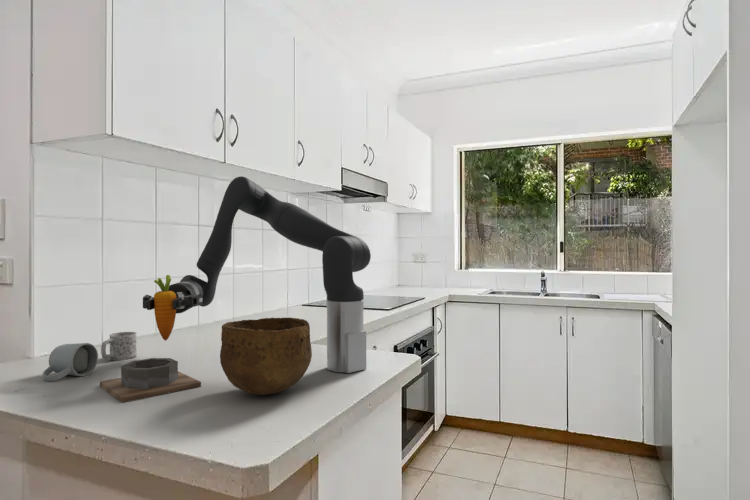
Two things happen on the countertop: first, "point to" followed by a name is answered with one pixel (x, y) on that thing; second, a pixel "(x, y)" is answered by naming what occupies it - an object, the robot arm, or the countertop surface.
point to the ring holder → (148, 379)
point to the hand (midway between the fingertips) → (161, 304)
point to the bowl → (265, 353)
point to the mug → (121, 346)
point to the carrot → (164, 308)
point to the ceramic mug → (71, 361)
